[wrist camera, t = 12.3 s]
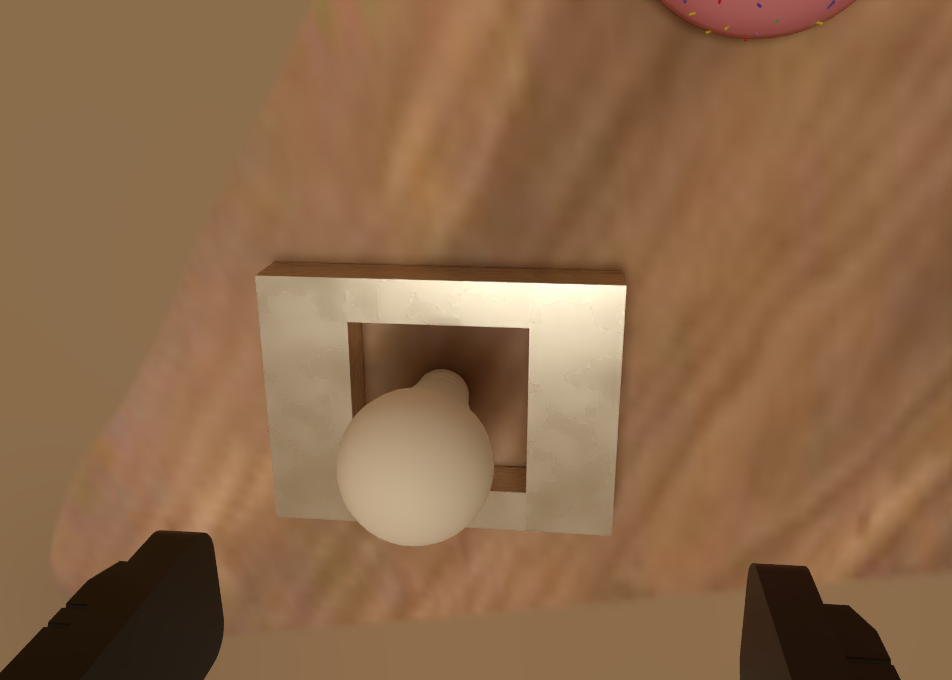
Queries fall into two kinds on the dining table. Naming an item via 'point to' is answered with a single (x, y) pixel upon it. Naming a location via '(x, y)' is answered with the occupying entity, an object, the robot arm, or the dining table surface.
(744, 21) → the doughnut
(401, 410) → the lightbulb
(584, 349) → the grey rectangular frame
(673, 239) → the dining table surface
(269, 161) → the dining table surface
